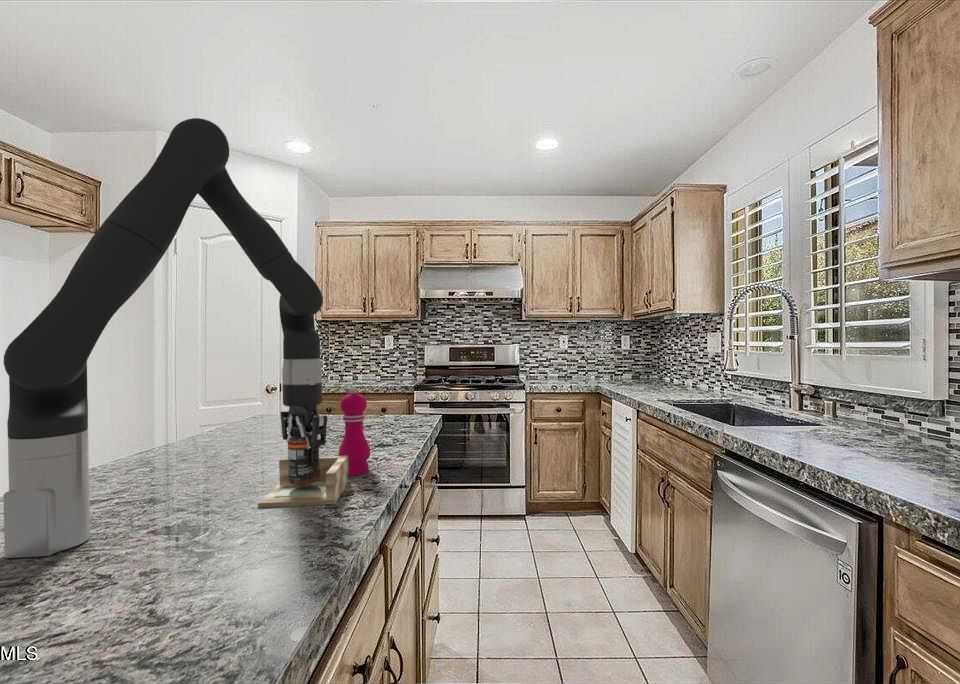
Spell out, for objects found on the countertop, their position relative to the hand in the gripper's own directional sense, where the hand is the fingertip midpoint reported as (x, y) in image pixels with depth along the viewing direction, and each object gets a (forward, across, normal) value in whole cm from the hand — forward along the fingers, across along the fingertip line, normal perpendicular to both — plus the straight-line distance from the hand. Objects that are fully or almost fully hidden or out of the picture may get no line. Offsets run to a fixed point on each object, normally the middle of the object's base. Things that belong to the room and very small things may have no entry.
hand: (303, 463), depth 97 cm
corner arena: (+6, +1, 0) cm, 6 cm away
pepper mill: (+6, -5, +16) cm, 18 cm away
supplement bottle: (+4, 0, 0) cm, 4 cm away
